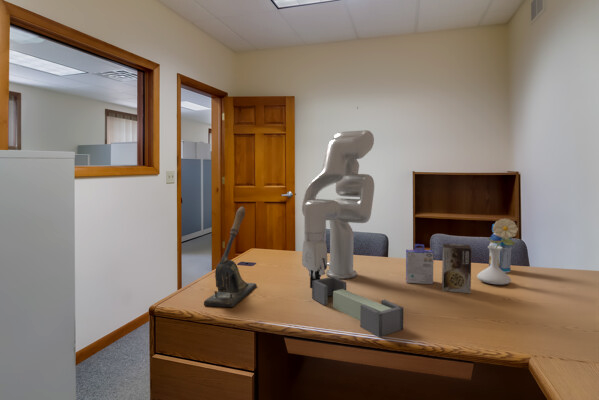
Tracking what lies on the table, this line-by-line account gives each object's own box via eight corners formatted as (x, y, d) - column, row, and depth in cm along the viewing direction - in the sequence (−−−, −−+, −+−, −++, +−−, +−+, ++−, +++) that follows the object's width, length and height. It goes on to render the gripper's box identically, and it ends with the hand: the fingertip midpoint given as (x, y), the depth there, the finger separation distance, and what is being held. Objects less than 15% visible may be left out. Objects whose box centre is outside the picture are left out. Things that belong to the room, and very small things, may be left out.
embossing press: (200, 306, 110) (198, 212, 108) (233, 283, 133) (232, 205, 131) (232, 309, 108) (230, 213, 105) (260, 285, 130) (259, 206, 128)
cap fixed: (360, 326, 95) (360, 305, 95) (384, 319, 99) (384, 299, 99) (378, 337, 89) (379, 314, 88) (403, 329, 93) (403, 307, 93)
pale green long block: (333, 308, 109) (333, 291, 108) (342, 305, 111) (342, 288, 110) (382, 332, 92) (382, 312, 92) (392, 328, 95) (392, 308, 94)
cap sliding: (312, 298, 116) (312, 280, 116) (333, 293, 121) (333, 276, 120) (324, 305, 110) (324, 286, 110) (346, 299, 115) (346, 282, 114)
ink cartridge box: (431, 280, 136) (432, 243, 135) (433, 284, 131) (434, 246, 129) (405, 279, 138) (405, 243, 137) (406, 283, 133) (407, 245, 131)
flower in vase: (472, 282, 133) (475, 218, 131) (481, 276, 141) (484, 215, 139) (512, 290, 124) (515, 221, 122) (519, 283, 132) (522, 218, 130)
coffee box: (468, 288, 127) (469, 244, 125) (470, 294, 121) (472, 248, 119) (441, 285, 130) (442, 243, 128) (442, 291, 123) (443, 246, 122)
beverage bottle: (511, 274, 144) (513, 226, 142) (487, 271, 148) (489, 225, 146) (510, 269, 151) (512, 223, 149) (488, 267, 155) (490, 222, 154)
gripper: (295, 234, 126) (295, 283, 127) (317, 241, 113) (317, 296, 114) (312, 232, 130) (312, 280, 131) (336, 239, 117) (336, 292, 118)
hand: (315, 287), depth 123 cm, fingers closed
